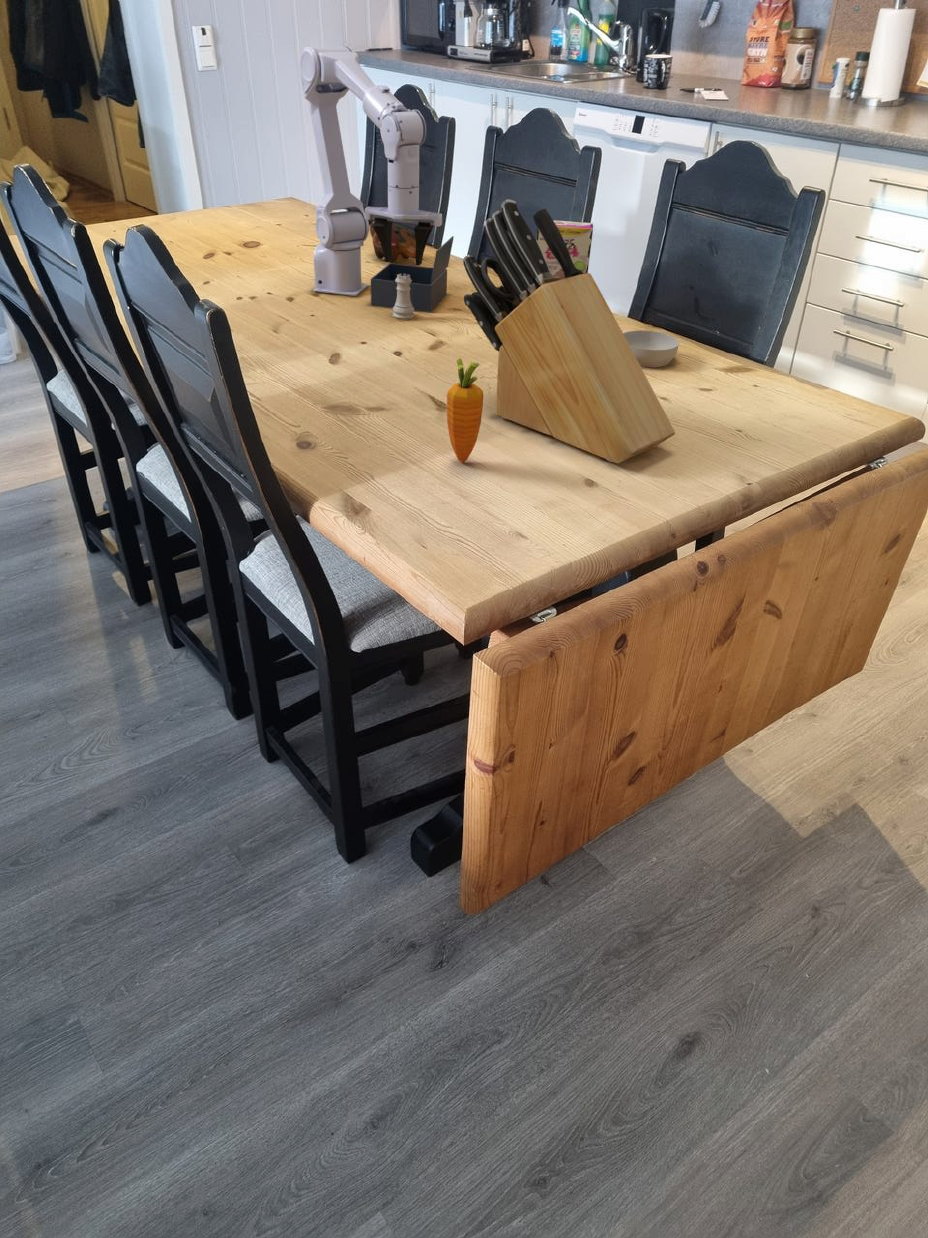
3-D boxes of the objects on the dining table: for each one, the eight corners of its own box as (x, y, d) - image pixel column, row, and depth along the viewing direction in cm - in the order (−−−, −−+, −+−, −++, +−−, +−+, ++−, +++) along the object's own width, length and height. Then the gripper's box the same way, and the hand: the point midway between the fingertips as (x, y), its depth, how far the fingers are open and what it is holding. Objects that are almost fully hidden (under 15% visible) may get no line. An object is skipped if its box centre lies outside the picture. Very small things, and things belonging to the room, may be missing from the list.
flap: (446, 265, 194) (448, 266, 194) (430, 281, 184) (432, 282, 184) (452, 235, 190) (453, 236, 190) (436, 250, 180) (437, 250, 180)
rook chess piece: (418, 315, 185) (418, 273, 181) (409, 321, 182) (409, 279, 177) (397, 312, 186) (397, 270, 182) (388, 318, 183) (388, 276, 178)
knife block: (499, 383, 157) (511, 184, 139) (673, 451, 137) (714, 230, 119) (452, 399, 150) (458, 193, 132) (628, 473, 131) (664, 243, 113)
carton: (446, 295, 197) (447, 269, 194) (430, 312, 187) (431, 285, 184) (389, 288, 199) (389, 263, 196) (371, 305, 189) (370, 278, 186)
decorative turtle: (381, 249, 225) (384, 214, 220) (431, 266, 218) (434, 230, 214) (355, 255, 218) (357, 219, 213) (405, 272, 211) (408, 235, 207)
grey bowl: (667, 373, 164) (670, 352, 161) (570, 355, 169) (573, 334, 167) (682, 355, 172) (685, 334, 169) (589, 338, 178) (592, 318, 175)
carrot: (443, 455, 133) (446, 352, 125) (478, 455, 134) (483, 352, 125) (446, 470, 129) (449, 365, 121) (481, 470, 130) (487, 366, 121)
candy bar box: (530, 308, 192) (536, 223, 182) (531, 300, 196) (537, 218, 186) (584, 311, 191) (593, 227, 182) (584, 304, 195) (593, 221, 186)
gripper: (358, 185, 168) (360, 263, 176) (435, 192, 166) (434, 271, 174) (371, 179, 174) (372, 254, 182) (445, 185, 171) (444, 262, 179)
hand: (403, 262), depth 178 cm, fingers open, 5 cm apart
